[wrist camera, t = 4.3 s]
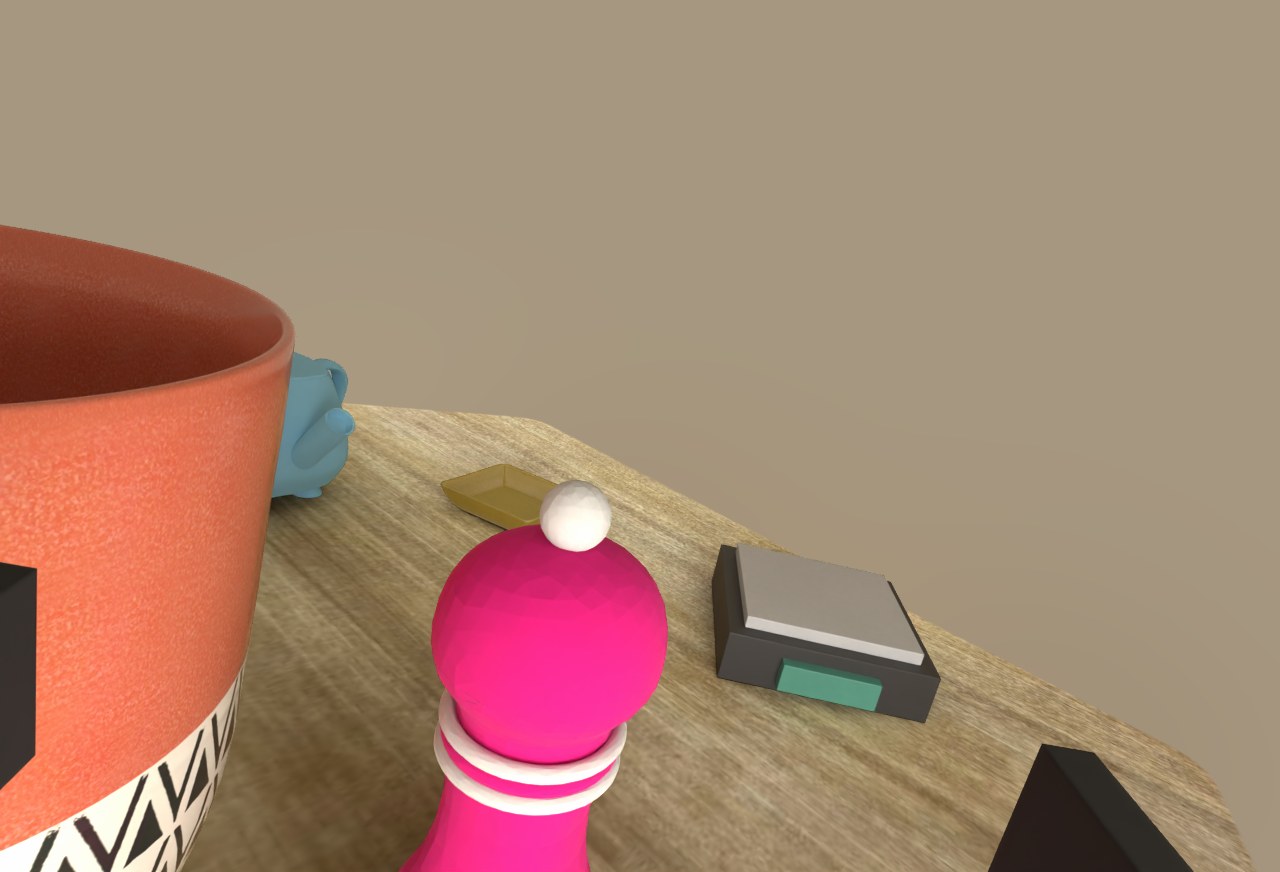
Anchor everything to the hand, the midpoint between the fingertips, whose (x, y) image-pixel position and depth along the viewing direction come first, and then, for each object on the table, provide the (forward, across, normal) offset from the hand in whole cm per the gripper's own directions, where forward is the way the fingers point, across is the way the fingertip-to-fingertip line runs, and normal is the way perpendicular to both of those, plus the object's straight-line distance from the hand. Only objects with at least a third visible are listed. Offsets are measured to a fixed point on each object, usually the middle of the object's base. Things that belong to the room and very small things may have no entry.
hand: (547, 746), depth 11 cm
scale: (+40, +18, -20) cm, 49 cm away
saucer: (+53, -4, -20) cm, 57 cm away
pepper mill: (+10, 0, -20) cm, 22 cm away
